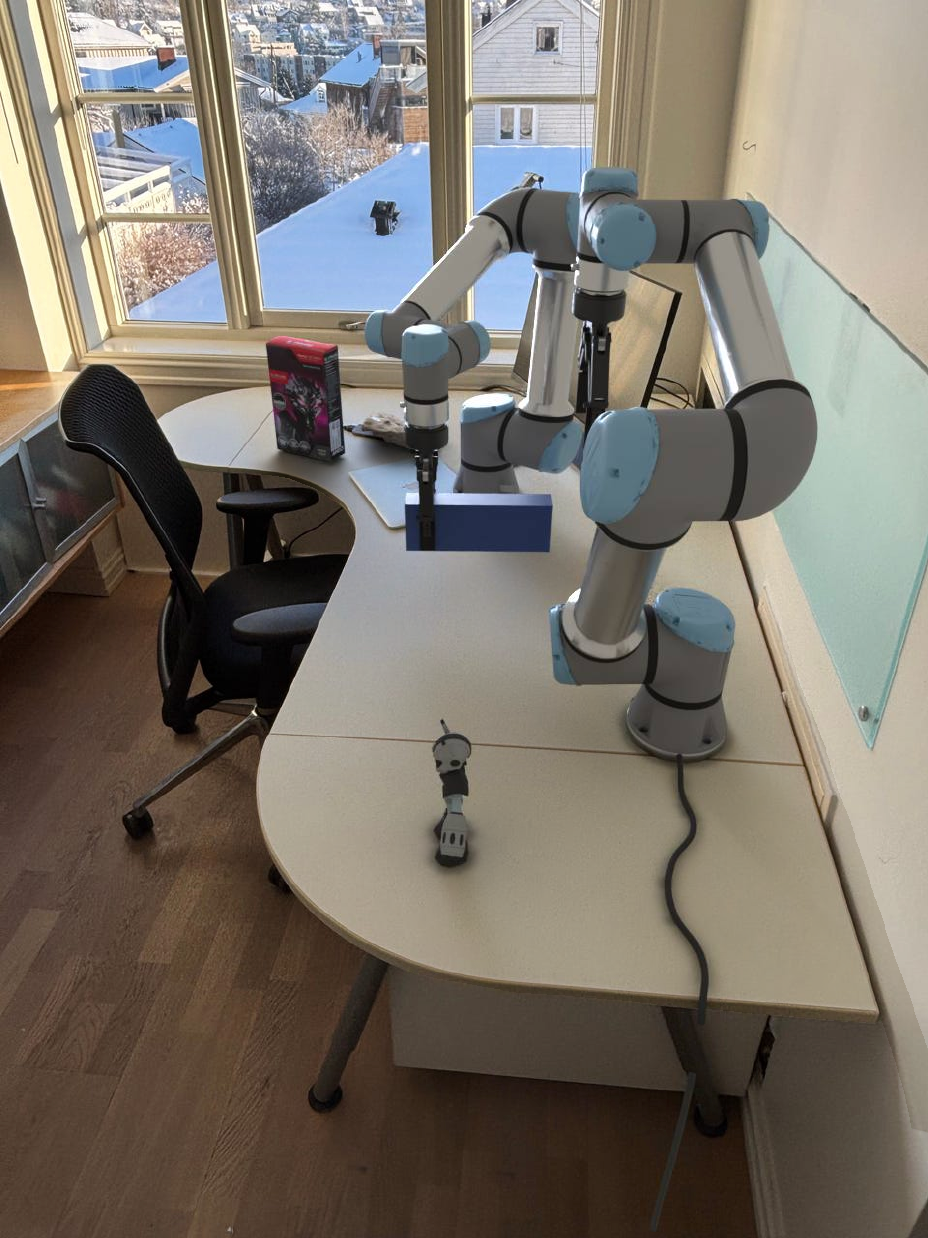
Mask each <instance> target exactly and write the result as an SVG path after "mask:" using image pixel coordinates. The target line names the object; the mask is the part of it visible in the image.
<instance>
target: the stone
mask: <svg viewBox="0 0 928 1238" xmlns="http://www.w3.org/2000/svg"><path fill="white" fill-rule="evenodd" d="M405 422H406V421H405V420H400V419H399V417H397V416H396V417H395V416H394V415H393V414H388V413H384V412H379V413H377V414H369V415H368V416H366V419H365V420H364V421H363V423H362V425H361V427H360V430H361V432H363V433H365V432H371V433H373V435H374V436H376V437H378V438H382V439H383V441H384V442H385V443H388V444H392V443H394V444H395V445H398V446H400V447H404V448H406V449H410V450H413V449H412V448H410V447H408V446H407V445H406V443H405V438H404V423H405Z"/></svg>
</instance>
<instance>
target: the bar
mask: <svg viewBox="0 0 928 1238" xmlns="http://www.w3.org/2000/svg"><path fill="white" fill-rule="evenodd" d="M553 507H554V505H553V499H552V494H551V493H519V494H463V493H452V492H451V493H450V492H449V493H448V492H436V493H434V515H435V551H434V552H459V553H460V552H463V553H464V552H465V553H466V552H468V553H472V552H473V553H474V552H476V553H478V552H479V553H551V551H550V550H551V539H552V538H551V537H552V522H553V509H554V508H553ZM416 516H419V492H406V493H405V500H404V522H405V551H406V552H421V551H420V523H419V520H416Z"/></svg>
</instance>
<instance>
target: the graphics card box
mask: <svg viewBox="0 0 928 1238" xmlns="http://www.w3.org/2000/svg"><path fill="white" fill-rule="evenodd" d="M265 351H266V359H267V368H268V379H269V385H270V395H271V403H272V405H271V406H272V413H273V422H274V430H275V440H276V441H275V442H276V450H280V451H284V452H288V453H291V454H296V455H301V456H305V457H310V458H312V459H313V458H314V459H317V460H322V461H327V462H334V460H336V459H338V458H340V457H341V456H343V455H345V454H346V444H345V442H346V441H345V428H344V415H343V401H342V388H341V373H340V357H339V346H338V344H331V343H324V342H319V341H314V340H309V339H304V338H298V337H293V336H287V335H278V336H275V337H273V338H271V339H270V340H268V341H267V342H265Z"/></svg>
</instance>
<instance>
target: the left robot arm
mask: <svg viewBox="0 0 928 1238" xmlns="http://www.w3.org/2000/svg"><path fill="white" fill-rule="evenodd" d="M580 193H581V192H579V191H567V190H556V189H555V190H554V189H544V188H537V187H520V188H516V189H514V190H511V191H508V192H506V193H503V194H502V195H499V196H498V197H496V198H495V199H493V200H492V201H490V202H489V203H487V204H486V205H484V206H483V207H482V208H481V209H480V210H478V211H477V213H475V214H474V215H473V217H472V218H470V219H469V221H468V222H467V225H466V227H465V233H464V234H463V235H462V236H461V237H460V238H459V239H458V240H457V242H456V243H454V245H453V246H452V247H451V248H450V249H449V250H448V251H447V252H446V254H444V256H443V257H442V258H441V259H440V260H439V261H438V262H437V263H436V264H435V265H434V266H433V267H432V268H431V269H430V271H428V272H427V274H426V275H425V276H424V277H423V278H422V279H421V280H420V281H419V282H418V283H417V284H416V285H415V286H414V287H413V288H412V289H411V291H410V292H409V293H407V295H406V296H405V297H404V298H403V299H402V300H401V301H400V302H399V304H398V305H396V307H395V308H394V309H393V310H392V311H390V310H388V309H385V310H380V309H378V310H376V311H373V312H372V313H371V314H370V315H369V316H368V317H367V319H366V322H365V324H364V332H363V334H364V335H363V336H364V340H365V343H366V346H367V347H368V349H369V350H370V351H371V352H372V353H376V354H378V355H381V356H385V357H387V358H392V359H397V360H401V367H402V385H403V393H402V394H403V395H402V396H403V401H400V402H399V407H400V408H401V409H403V419H404V421H405V423H404V438H405V443H406V445H407V446H408V447H410V448H412V449H411V450H415V456H414V466H415V467H416V481H417V482H418V493H419V516H416V520H419V523H420V551H419V552H436V551H435V515H434V493H437V489H436V482H437V478H438V477H437V476H438V473H437V472H438V466H439V450H440V449H442V448H445V447H446V446H447V445H448V443H449V438H450V437H449V422H448V421H449V419H450V409H449V408H450V397H449V381H450V379H453V378H454V377H456V376H458V375H460V374H463V373H465V372H467V371H469V370H471V369H474V368H476V367H477V366H478V365H479V364H481V363H483V362H484V361H485V360H486V359H487V358H488V356H489V354H490V352H491V346H492V345H491V336H490V334H489V332H488V330H487V328H486V327H485V326H484V325H483V324H481V323H480V322H479V321H476V320H471V319H470V320H466V321H463V320H462V321H460V322H458V323H457V324H454V323H453V324H452V323H449V322H448V323H447V322H443V320H444V319H445V318H446V317H447V315H448V314H449V313H450V312H451V311H452V310H453V309H454V308H455V307H456V305H457V304H459V302H460V301H461V300H462V299H463V298H464V296H465V295H466V294H467V293H468V292H469V291H470V290H471V289H472V288H473V287H474V286H475V284H476V283H477V282H478V281H479V280H480V279H481V278H482V277H483V275H484V274H485V273H486V272H487V271H488V270H489V269H490V268H491V266H492V265H493V264H494V263H495V264H496V263H500V262H502V261H504V260H505V259H506V258H507V257H508V256H509V255H510V254H513V253H524V254H529V255H530V254H531V255H532V264H531V265H532V268H533V269H534V271H535V272H536V273H537V275H538V285H537V293H536V304H535V314H534V324H533V334H532V342H531V343H532V344H531V353H530V364H529V365H530V366H529V372H528V381H527V382H528V383H527V392H526V397H525V398H524V399H523V400H522V401H520V402H519V404H518V407H516V405H517V402H516V399H515V397H513V396H512V395H511V394H508V393H507V394H506V393H486V394H485V393H484V394H480V395H476V396H474V397H471V398H469V399H467V400H466V401H465V402H463V404H462V406H461V409H460V419H459V424H460V464H459V468H458V470H457V474H456V476H455V479H454V481H453V485H452V489H453V493H463V494H520V486H519V483H518V478H517V475H516V472H515V469H514V467H513V466H514V465H517V466H521V467H524V468H527V469H530V470H533V471H538V472H539V473H548V474H551V475H558V474H562V473H563V472H564V471H566V470H567V469H568V468H569V467H570V466H571V464H572V463H573V462H574V460H575V459H576V457H577V454H578V451H579V449H580V447H581V443H582V439H583V429H582V428H583V427H582V424H581V423H580V422H578V420H574V416H575V408H574V407H573V405H572V404H571V402H570V401H569V400H570V399H569V398H570V390H571V382H572V381H571V380H572V374H573V365H574V356H575V349H576V341H577V332H578V325H579V319H577V318H576V317H574V315H573V314H572V306H573V292H574V290H575V289H576V288H577V286H576V285H575V272H576V271H572V270H571V265H572V264H576V263H578V262H577V260H576V258H577V245H578V230H579V213H580V199H579V195H580Z"/></svg>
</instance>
